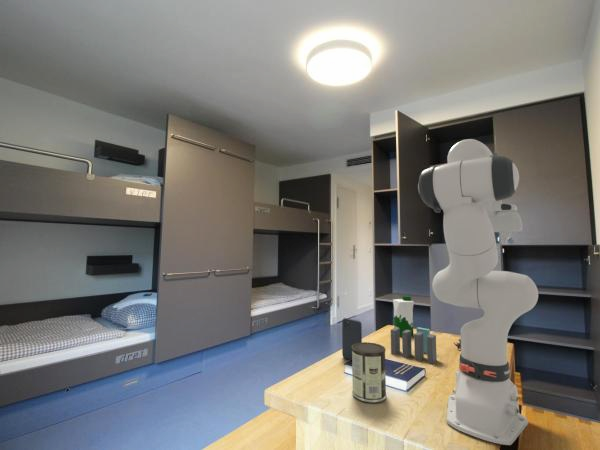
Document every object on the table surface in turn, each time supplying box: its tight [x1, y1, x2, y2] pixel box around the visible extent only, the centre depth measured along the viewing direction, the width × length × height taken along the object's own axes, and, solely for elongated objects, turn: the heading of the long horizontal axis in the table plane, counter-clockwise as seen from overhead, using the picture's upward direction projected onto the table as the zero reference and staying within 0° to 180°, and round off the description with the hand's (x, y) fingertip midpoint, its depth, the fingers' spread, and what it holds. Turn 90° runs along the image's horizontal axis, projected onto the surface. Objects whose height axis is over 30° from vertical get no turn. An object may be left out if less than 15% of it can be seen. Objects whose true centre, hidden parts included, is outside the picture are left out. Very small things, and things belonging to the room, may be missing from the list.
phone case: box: [341, 317, 363, 361], centre depth 119 cm, size 9×2×16 cm, turn 46°
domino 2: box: [401, 330, 413, 359], centre depth 124 cm, size 2×5×10 cm, turn 140°
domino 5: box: [426, 333, 437, 365], centre depth 118 cm, size 2×5×10 cm, turn 140°
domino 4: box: [413, 331, 425, 362], centre depth 121 cm, size 2×5×10 cm, turn 140°
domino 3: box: [416, 326, 431, 354], centre depth 129 cm, size 2×5×10 cm, turn 50°
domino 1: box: [390, 327, 401, 356], centre depth 127 cm, size 2×5×10 cm, turn 140°
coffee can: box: [351, 341, 387, 403], centre depth 91 cm, size 10×10×14 cm
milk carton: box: [392, 295, 415, 338], centre depth 154 cm, size 9×9×20 cm
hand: (489, 244), depth 110 cm, fingers open, 8 cm apart
